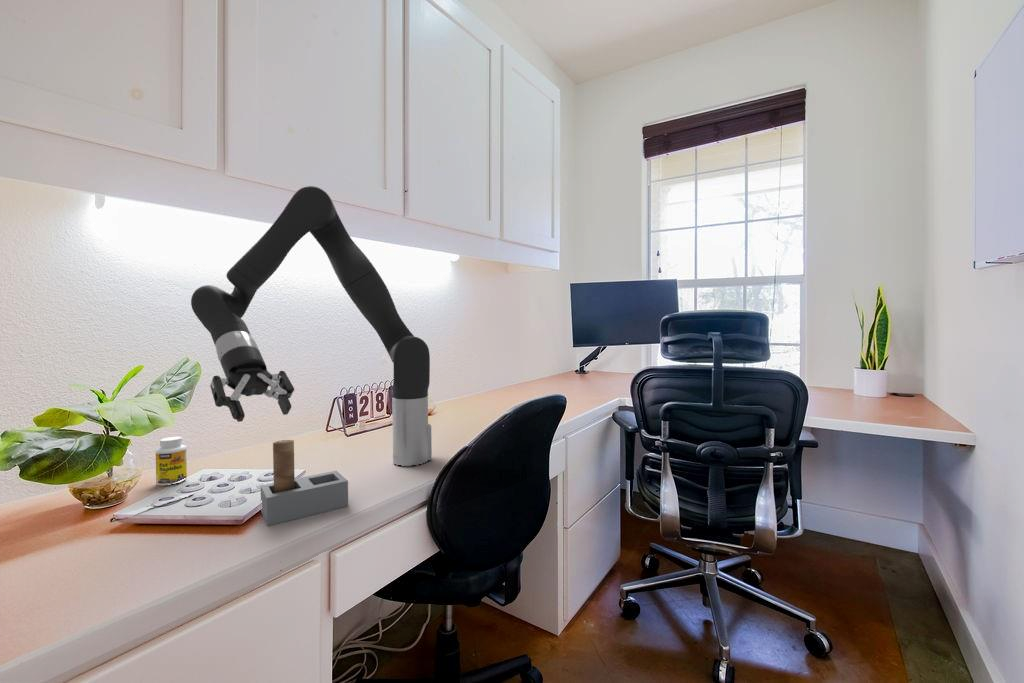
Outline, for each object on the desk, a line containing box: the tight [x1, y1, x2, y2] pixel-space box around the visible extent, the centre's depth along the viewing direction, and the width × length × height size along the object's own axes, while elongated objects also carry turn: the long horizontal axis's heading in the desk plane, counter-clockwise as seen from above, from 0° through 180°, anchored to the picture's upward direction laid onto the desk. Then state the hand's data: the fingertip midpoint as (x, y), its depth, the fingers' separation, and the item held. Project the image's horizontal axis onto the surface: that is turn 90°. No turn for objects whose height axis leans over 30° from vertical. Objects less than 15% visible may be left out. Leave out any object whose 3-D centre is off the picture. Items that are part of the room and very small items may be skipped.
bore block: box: [260, 470, 349, 527], centre depth 83 cm, size 14×8×5 cm, turn 128°
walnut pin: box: [272, 439, 296, 494], centre depth 81 cm, size 4×4×12 cm
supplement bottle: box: [155, 436, 188, 486], centre depth 98 cm, size 6×6×10 cm
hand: (265, 415), depth 85 cm, fingers open, 8 cm apart
